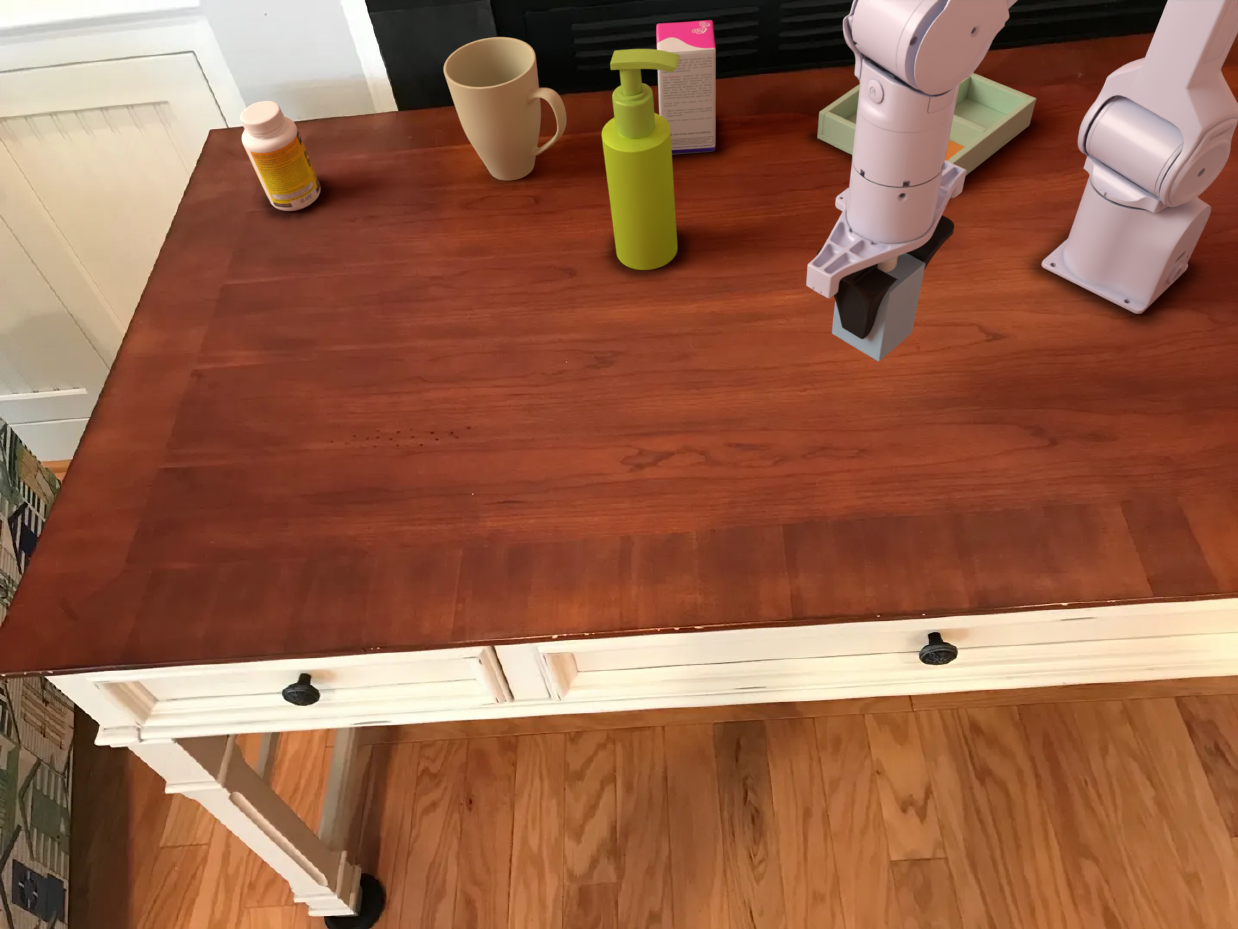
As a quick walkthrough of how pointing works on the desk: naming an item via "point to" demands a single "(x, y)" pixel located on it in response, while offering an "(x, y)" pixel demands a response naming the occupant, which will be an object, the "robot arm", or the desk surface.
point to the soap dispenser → (640, 164)
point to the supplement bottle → (279, 157)
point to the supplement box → (689, 85)
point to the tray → (976, 128)
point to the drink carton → (890, 309)
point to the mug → (501, 103)
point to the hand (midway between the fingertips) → (874, 314)
